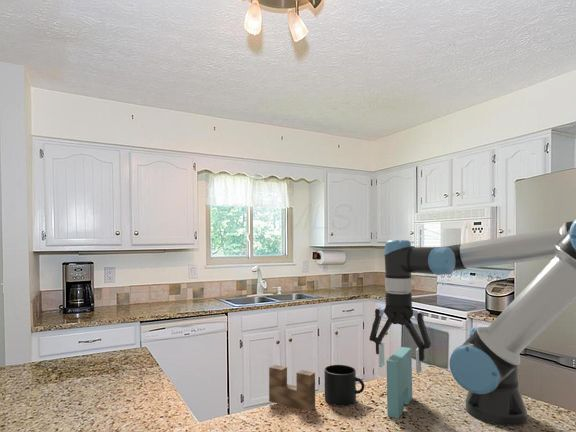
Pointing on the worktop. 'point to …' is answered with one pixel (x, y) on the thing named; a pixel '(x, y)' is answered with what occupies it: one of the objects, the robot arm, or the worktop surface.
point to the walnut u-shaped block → (292, 388)
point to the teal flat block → (399, 381)
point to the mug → (341, 385)
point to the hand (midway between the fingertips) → (399, 368)
